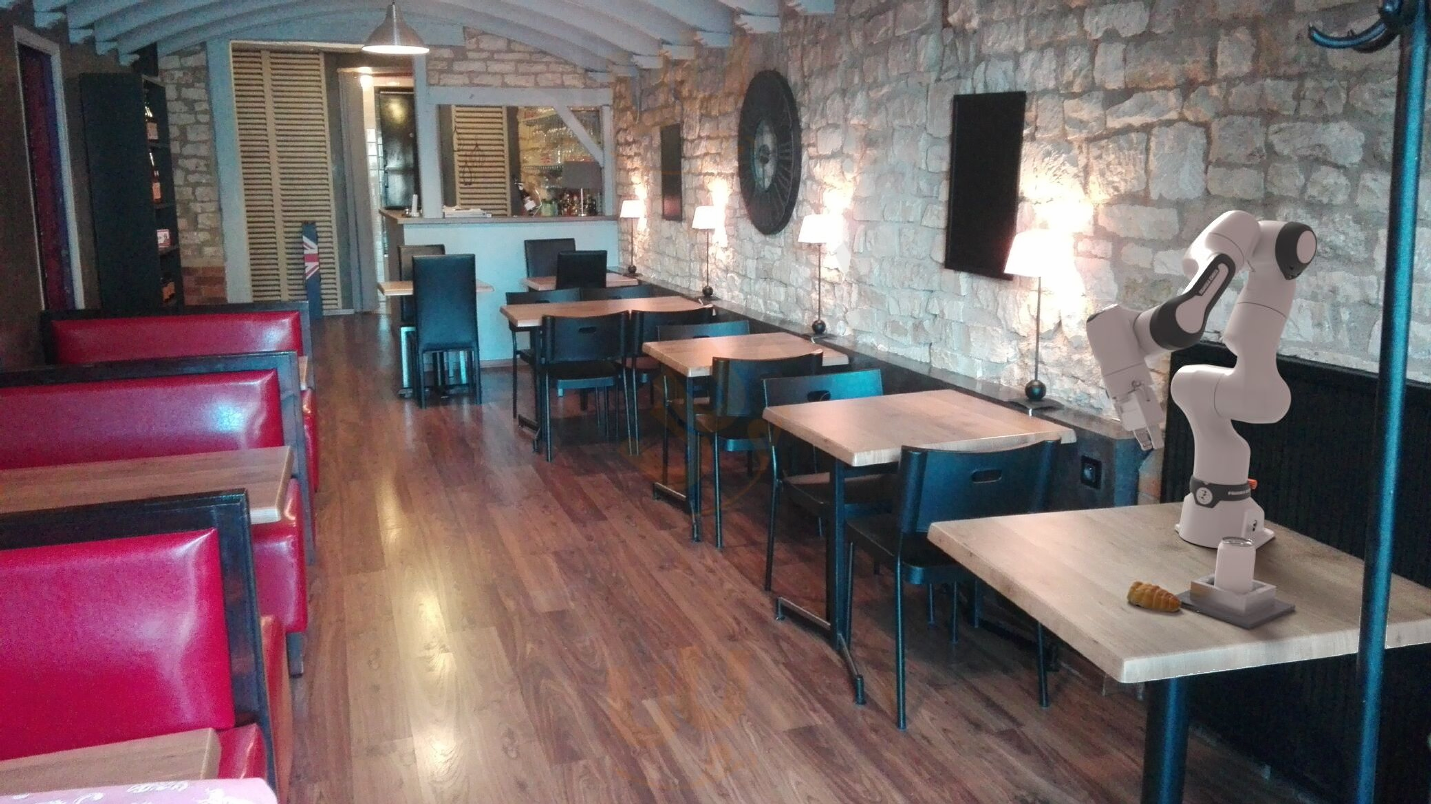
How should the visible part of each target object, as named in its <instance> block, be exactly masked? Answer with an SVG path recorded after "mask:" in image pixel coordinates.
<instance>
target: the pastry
mask: <svg viewBox="0 0 1431 804" xmlns="http://www.w3.org/2000/svg"><path fill="white" fill-rule="evenodd" d="M1174 595H1175V594H1173V593H1171V592H1170V591H1168V590H1167V589H1164V588H1161V586H1159V585H1156V584H1155V585H1153V584H1152V583H1150V582H1147V583H1143V582H1142V581H1140V580H1139V581H1138V580H1137V581H1134V582H1133V583H1132V585H1131V586H1130V587H1129V590H1128V592H1127V596H1126V599H1127V600H1128V602H1130V603H1131V604H1132V605H1134V606H1136V605H1139V606H1140V607H1141V608H1143V607H1146V608H1145V609H1147V608H1148V609H1150V610H1152V609H1154V610H1153V611H1158V610H1160V611H1159V612H1163V611H1167V612H1171V613H1175V612H1177V611H1178V610H1180V608H1181V607H1182V606H1181V604H1182V602H1181V601H1180V600H1179V599H1178V598H1177V597H1176V596H1174Z"/></svg>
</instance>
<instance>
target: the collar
mask: <svg viewBox="0 0 1431 804" xmlns="http://www.w3.org/2000/svg"><path fill="white" fill-rule="evenodd" d="M1214 581H1215V572H1212V573H1210V574H1207V575H1204V576H1202V577H1199V578H1196V579H1193V580H1191V581H1190V588H1189V589H1188V590H1185V591H1182V592H1180V593H1177V594H1173V595H1174V596H1176V597H1177V598H1178V599H1179V600H1180V601H1181V602H1182V604H1181V606H1180V607H1182V608H1184V607H1185V609H1187V608H1188V610H1190V609H1192V610H1191V611H1193V610H1194V612H1196V611H1199V612H1201V613H1200V614H1202V613H1204V614H1203V615H1205V614H1206V616H1208V615H1209V616H1208V617H1211V616H1212V618H1214V619H1217V620H1220V621H1223V622H1226V623H1229V624H1232V625H1235V626H1238V627H1242V628H1244V629H1247V630H1252V629H1255V628H1257V627H1259V626H1261V624H1262V625H1263V624H1266V623H1268V622H1270V620H1271V621H1273V620H1276V619H1277V618H1280V617H1282V615H1283V616H1284V614H1285V613H1287V614H1289V613H1288V612H1290V611H1292V612H1294V611H1295V610H1296V605H1295V604H1292V603H1289V602H1286V601H1283V600H1280V599H1277V598H1276V595H1277V586H1276V585H1273V584H1271V583H1268V582H1267V583H1266V582H1263V581H1261V580H1260V581H1259V580H1257V579H1254V578H1253V583H1252V592H1250V593H1247V594H1245V595H1241V594H1238V593H1235V592H1232V591H1229V590H1225V589H1222V588H1219V587H1216V586H1214ZM1293 610H1294V611H1293ZM1199 612H1198V613H1199ZM1290 613H1291V612H1290ZM1285 615H1286V614H1285ZM1275 618H1276V619H1275Z"/></svg>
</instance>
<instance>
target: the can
mask: <svg viewBox="0 0 1431 804" xmlns="http://www.w3.org/2000/svg"><path fill="white" fill-rule="evenodd" d="M1221 540H1222V541H1221V543H1220V544H1219V546H1218V548H1217V554H1216V563H1215V572H1214V573H1215V581H1214V586H1216V587H1219V588H1222V589H1225V590H1229V591H1232V592H1235V593H1238V594H1241V595H1245V594H1247V593H1250V592H1252V583H1253V579H1254V573H1255V565H1256V564H1255V563H1256V550H1255V548H1254V542H1253V541H1251V540H1249V539H1246V538H1242V537H1234V536H1227V537H1223V538H1222V539H1221Z"/></svg>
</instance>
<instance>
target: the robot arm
mask: <svg viewBox="0 0 1431 804" xmlns="http://www.w3.org/2000/svg"><path fill="white" fill-rule="evenodd" d="M1317 249H1318V239H1317V236H1316V233H1315V232H1314V229H1313V228H1312V227H1311V226H1310V225H1308V224H1305V223H1302V222H1299V221H1292V220H1291V221H1281V220H1267V219H1264V220H1263V219H1262V220H1259V221H1258V220H1257V218H1256V217H1255V216H1254V215H1252V214H1251V213H1249V212H1247V211H1244V210H1241V209H1240V210H1239V209H1238V210H1237V209H1235V210H1229V211H1226V212H1223V214H1221V215H1220V216H1218V217H1217V218H1216V219H1215V220H1214V221H1212V222H1211V223H1210V224H1209V225H1208V226H1207V227H1205V228H1204V229H1203V231H1201V233H1199V235H1198V236H1197V237H1196V238H1195V239H1194V241H1193V242H1192V243H1191V244H1190V245H1189V247H1188V249H1187V250H1186V251H1185V254H1184V256H1183V257H1182V261H1181V266H1182V270H1183V273H1184V275H1185V277H1186V278H1187V279H1188V281H1189V284H1188V285H1187V286H1186V288H1185V289H1184V291H1182V293H1181V294H1180V295H1177V296H1174V297H1172V298H1170V299H1168V300H1166V301H1163V302H1162V303H1161V304H1159V305H1156V306H1155V307H1151V308H1150V309H1147V310H1145V311H1144V310H1134V309H1130V308H1127V307H1124V306H1122V305H1121V304H1120V303H1118V302H1117V303H1112V304H1109V305H1108V306H1105V307H1103V308H1102V309H1099V310H1097V311H1095V312H1094V313H1092V314H1091V315H1089V317H1088V318H1087V319H1086V320H1085V321H1086V322H1085V332H1086V335H1087V336H1086V337H1087V339H1088V340H1087V341H1088V343H1089V347H1090V348H1091V352H1092V354H1093V356H1094V359H1095V360H1096V361H1097V363H1098V365H1099V367H1100V374H1101V379H1102V381H1103V383H1104V386H1105V395H1106V398H1107V399H1108V400H1109V401H1110V400H1111V402H1112V405H1113V408H1114V410H1115V412H1116V415H1117V417H1118V419H1119V421H1120V424H1121V425H1122V427H1123V428H1124V430H1125V431H1127V432H1130V431H1131V432H1133V435H1134V437H1135V438H1136V440H1137V441H1138V443H1139V444H1140V448H1141V450H1142V451H1148V450H1151V449H1154V450H1158V449H1159V450H1160V449H1162V448H1164V447H1165V443H1164V441H1163V437H1162V430H1161V426H1160V424H1162V423H1164V422H1165V421H1166V420H1165V414H1164V411H1163V409H1162V407H1161V403H1160V402H1159V400H1158V398H1157V395H1156V393H1155V390H1154V389H1153V388H1152V387H1151V386H1153V385H1154V380H1153V378H1152V375H1151V372H1150V369H1149V367H1148V365H1147V362H1146V361H1148V360H1154V359H1156V358H1159V357H1163V356H1165V355H1168V354H1171V353H1174V352H1175V351H1181V350H1184V349H1187V348H1191V347H1193V346H1195V345H1197V344H1198V343H1199V342H1200V341H1201V339H1203V338H1202V337H1203V336H1204V334H1205V331H1206V327H1207V323H1208V319H1209V316H1210V313H1211V312H1212V310H1213V308H1215V306H1216V305H1217V303H1218V302H1219V300H1220V299H1221V297H1222V295H1223V294H1224V293H1225V291H1226V290H1227V289H1228V287H1229V286H1230V284H1231V282H1232V280H1233V279H1234V277H1235V276H1236V275H1238V273H1239V272H1240V271H1243V272H1248V278H1247V280H1246V282H1245V283H1244V284H1243V286H1242V289H1241V291H1240V293H1239V294H1238V297H1237V298H1236V301H1235V302H1234V303H1235V304H1234V306H1233V309H1232V312H1231V314H1230V316H1229V318H1228V322H1227V324H1226V327H1225V329H1224V332H1223V342H1224V344H1225V347H1227V348H1228V350H1229V351H1230V352H1231V353H1233V354H1234V355H1235V356H1237V358H1236V364H1235V366H1234V367H1233V368H1231V367H1225V366H1217V365H1212V364H1204V363H1203V364H1189V365H1187V364H1186V365H1183V366H1182V367H1181V368H1179V369H1178V370H1177V371H1176V373H1174V376H1173V378H1172V380H1171V383H1170V384H1171V385H1170V394H1171V397H1172V400H1173V402H1174V403H1175V404H1176V405H1177V406H1178V407H1179V408H1180V410H1182V412H1183V413H1184V414H1185V416H1186V418H1187V421H1188V422H1189V425H1190V427H1191V430H1192V434H1193V439H1194V465H1193V474H1192V475H1191V476H1190V479H1189V492H1190V493H1188V495H1187V494H1186V495H1185V497H1184V499H1183V503H1182V509H1181V515H1180V518H1179V519H1180V521H1179V523H1177V524H1175V525H1174V530H1175V531H1176V532H1178V535H1179V536H1180V538H1181V539H1183V540H1185V541H1187V542H1189V543H1192V544H1195V545H1198V546H1201V547H1202V546H1203V547H1208V548H1213V549H1218V546H1219V544H1220V543H1221V541H1222V540H1221V539H1222V538H1223V537H1227V536H1234V537H1242V538H1246V539H1249V540H1251V541H1253V542H1254V548H1255V551H1256V550H1257V549H1258V548H1260V547H1262V546H1263V545H1264V544H1266V543H1267V542H1269V541H1270V540H1271V539H1273V538H1274V537H1275V532H1274V531H1273V530H1271V529H1269V528H1266V527H1264V525H1265V511H1264V510H1263V508H1262V507H1261V506H1260V505H1258V503H1257V502H1256V501H1255V500H1254V499H1253V498H1252V497H1251V496H1252V495H1251V494H1252V493H1251V490H1252V489H1253V490H1255V489H1256V487H1258V486H1257V485H1258V482H1257V480H1256V479H1250V478H1248V477H1249V470H1250V469H1249V468H1250V462H1251V461H1250V460H1251V459H1250V458H1251V448H1250V446H1249V443H1248V442H1247V440H1245V438H1243V437H1242V436H1241V435H1239V434H1238V433H1237V431H1236V430H1235V429H1234V427H1233V424H1232V421H1231V420H1234V421H1240V422H1245V423H1249V424H1274V423H1277V422H1279V421H1280V420H1281V419H1283V418H1284V416H1286V414H1287V413H1288V411H1289V409H1290V406H1291V402H1292V395H1291V390H1290V388H1289V386H1288V384H1287V382H1286V381H1285V380H1284V379H1283V377H1281V375H1280V373H1279V371H1278V366H1277V358H1276V357H1277V352H1278V351H1277V350H1278V347H1279V345H1280V344H1279V343H1280V341H1281V338H1282V334H1283V333H1284V329H1285V327H1286V323H1287V321H1288V318H1289V316H1290V312H1291V310H1292V306H1293V301H1294V298H1295V294H1296V285H1297V283H1296V279H1297V278H1299V277H1300V276H1301V275H1302V274H1303V272H1304V271H1305V270H1306V269H1307V268H1308V267H1309V266H1310V265H1311V264H1312V262H1313V259H1314V258H1315V256H1316V254H1317ZM1147 432H1148V433H1149V436H1148V435H1147ZM1149 437H1150V439H1151V440H1150V439H1149Z"/></svg>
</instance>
